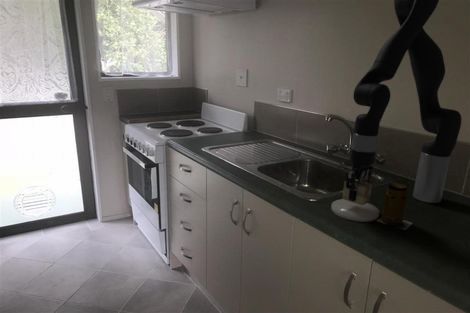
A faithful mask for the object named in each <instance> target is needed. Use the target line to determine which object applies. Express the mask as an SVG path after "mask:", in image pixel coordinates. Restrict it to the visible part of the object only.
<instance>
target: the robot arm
mask: <svg viewBox="0 0 470 313" xmlns="http://www.w3.org/2000/svg"><path fill="white" fill-rule="evenodd" d="M439 1H440V0H394V1H393V3H394V4H393V6H394V12H395V15H396V18H397V21H398V24H399V26H400V27H399V28H398V29H397V30H396V31H395V32H394V33H393V34H392V35H391V36H390V37H389V38H388V39H387V40H386V41H385V42H384V44H383V45H382V46H381V48H380V50H379V51H378V54H377V56H376V58H375V60H374V61H373V63H372V66H371V67H370V68H369V69H368V71H367V72H366V73H365V74H364V75H363V76H362V78H361V79H360V80H359V81H358V83H357V84H356V85H355V88H354V90H353V101H354V103H356V105H359V106H362V107H369V109H368V111H367V113H362V114H361V113H359V114H358V115H357V116H356V118H355V123H354V128H353V129H354V130H353V135H352V138H351V145H350V151H349V162H350V163H352V167H351V171H349V170H347V171H346V173H345V178H346V180H345V181H346V188H348V189H350V191H349V198H348V199H349V200H351V201H356V195H357V189H358V186H359V184H361V181H363V182H366V183H369V184H370V181H371V177H372V174H373V171H374V165H375V162H376V161H375V160H376V154H377V150H378V149H377V147H378V141H379V140H378V136H379V130H380V124H381V121H382V118H383V116H384V113H385V112H386V109H387V107H388V105H389V103H390V101H391V90H390V88H389V86H388V85H386V84H383V82H387V81H390V80H392V79H393V78H394V77H395V75H396V73H397V71H398V69H399V68H400V65H401V63H402V61H403V59H404V58H405V55H406V53H407V54H408V57H409V61H410V62H409V63H410V66H411V71H412V76H413V79H414V83H415V88H416V92H417V97H418V104H419V113H420V114H419V115H420V122H421V126H422V128H423V129H424V131H426V132H427V133H430V134H433V135H436V136H435V138H434V141H432V142H425V143H423V144H422V147H421V152H420V156H419V161H418V167H417V172H416V177H415V182H414V188H413V192H412V197H413V198H414V199H416V200H418V201H420V202H425V203H428V204H430V203H432V204H439V203H441V201H442V198H443V193H444V189H445V184H446V180H447V175H448V170H449V165H450V160H451V156H452V153H453V150H454V149H455V147H456V144H457V141H458V138H459V134H460V130H461V127H462V115H461V113H460V112H459V111H457V110H456V109H455V110H454V109H449V108H445V107H441V105H440V102H439V94H438V92H439V89H440V86H441V84H442V83H443V82H444V78H445V75H446V65H445V60H444V56H443V51H442V49H441V48H440V47H439V45H438V43H436V42H435V41H434V39H433V38H432V37H431V36H429V34H428V33H427V32H426V31H425V29H424V26H425V25H426V23H427V22H428V20H429V19H430V17H431V16H432V15H433V13H434V11H435V10H436V8H437V7H438V4H439ZM355 179H356V180H358V181H356V180H355ZM349 183H350V184H349ZM355 183H356V185H355Z"/></svg>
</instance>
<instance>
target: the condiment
mask: <svg viewBox="0 0 470 313" xmlns="http://www.w3.org/2000/svg"><path fill="white" fill-rule="evenodd" d="M407 191H408V187H407V186H406V185H405V184H402V183H397V182H391V183H389V184H388V188H387V191H386V193H385V197H384V201H383V208H382V213H381V217H380V218H378V219H376V222H379V223H381V224H384V225H386V226H391V227H394V228H397V229H400V230H404V231H407V229H409V227H411V225H412V224H413V222H411V221H407V220H405V219H404V218H405V217H404V216H405V212H406V207H407V206H406V205H407V199H408V195H407V194H408V192H407Z"/></svg>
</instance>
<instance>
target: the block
mask: <svg viewBox="0 0 470 313" xmlns="http://www.w3.org/2000/svg"><path fill="white" fill-rule="evenodd" d="M355 180H356V181H358V180H357V179H355ZM349 184H350V183H349ZM355 185H356V183H355ZM372 188H373V183H370V182H369V183H366V182H363V181H361V184H359V186H358V189H357V195H356V201H351V200H349V199H348V198H349V191H350V189H348V188H346V180H345V181H344V183H343V189H342V198H341V199H345V200H347V201H350V202H353V203H356V204H359V205H364V204H366V203H369V202H370V200H371V193H372Z"/></svg>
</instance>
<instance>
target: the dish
mask: <svg viewBox="0 0 470 313" xmlns="http://www.w3.org/2000/svg"><path fill="white" fill-rule="evenodd" d="M330 209H331V211H332V212H333V214H335V215H336V216H338V217H340V218H343V219H345V220H349V221H353V222H361V223H363V222H364V223H368V222H374V221H377V220H378V219H379V216H380V210H379V209H378V208H377V207H376V206H375V205H374V204H372V203H369V202H368V203H366V204H364V205H359V204H356V203H353V202H350V201H347V200H345V199H342V198H341V199H337V200H334V201H332V203H331V207H330Z"/></svg>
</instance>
